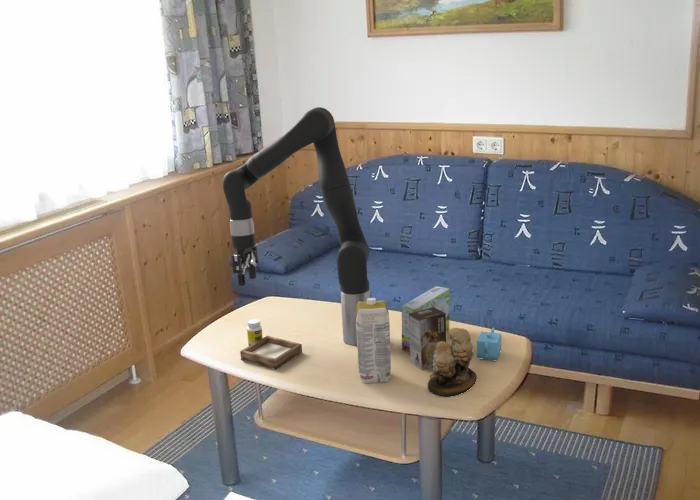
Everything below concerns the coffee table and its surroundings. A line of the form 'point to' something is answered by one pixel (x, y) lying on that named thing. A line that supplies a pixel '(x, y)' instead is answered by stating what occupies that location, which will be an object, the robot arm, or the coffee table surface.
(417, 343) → the coffee box
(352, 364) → the coffee table surface
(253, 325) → the supplement bottle
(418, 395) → the coffee table surface
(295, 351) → the walnut tray
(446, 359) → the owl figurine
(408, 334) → the snack box
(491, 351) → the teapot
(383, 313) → the juice carton
